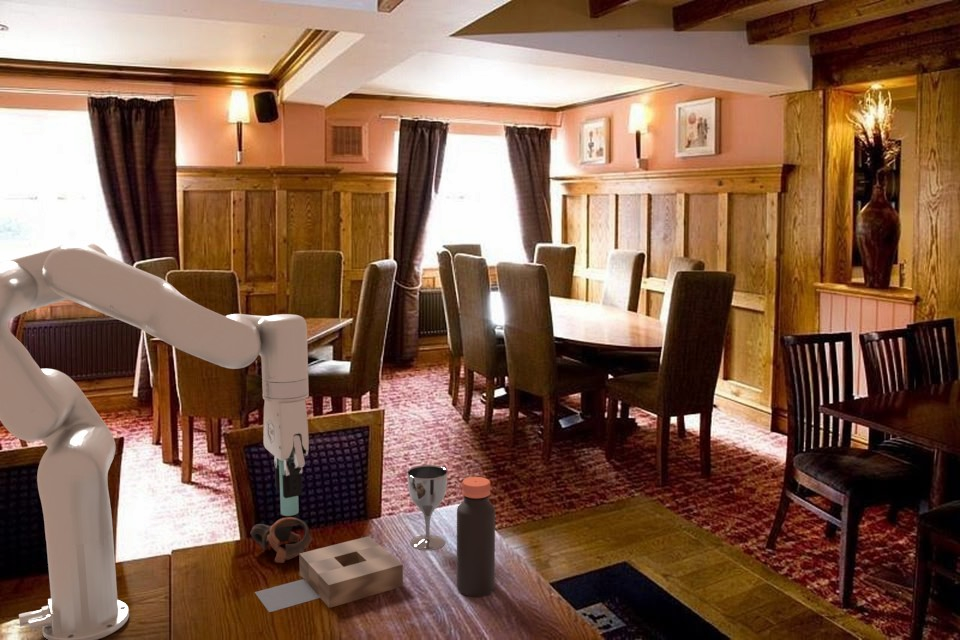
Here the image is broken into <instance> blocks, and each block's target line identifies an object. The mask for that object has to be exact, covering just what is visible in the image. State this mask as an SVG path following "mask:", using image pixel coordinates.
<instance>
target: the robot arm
mask: <svg viewBox="0 0 960 640" xmlns="http://www.w3.org/2000/svg"><path fill="white" fill-rule="evenodd" d="M65 300H66V301H67V300H69V301H71V302H73V303H76V304H78V305H81V306H83V307H86V308H89V309H90V310H91V309H92V310H94V311H96V312H98V313H101V314H102V315H103V314H104V315H106V316H109V317H112V318H113V319H116V320H119V321H121V322H123V323H126V324H129V325H131V326H133V327H136V328H137V329H140V330H141V331H143V332H144V333H146V334H148V335H150V336H152V337H155V338H156V339H158V340H160V341H163V342H164V343H166V344H168V345H170V346H172V347H174V348H175V349H177V350H180V351H181V352H184V353H187V354H189V355H191V356H194V357H196V358H199V359H201V360H204V361H207V362H209V363H212V364H213V365H217V366H219V367H222V368H226V369H232V370H235V369H237V370H238V369H243V368H246V367H248V366H250V365H251V364H252V363H254V362H255V360H256V359H257V358H258V356H260V359H261V379H262V380H261V382H262V383H261V385H262V386H261V387H262V399H263V400H264V404H263V434H262V435H263V446H264V448H265V449H266V450H267V451H268V452H269V453H270V454H271V455H272V456H274V457H273V458H274V459H273V461H274V462H273V463H274V467H275V468H274V475H275V476H274V477H275V478H274V479H275V480H274V481H275V482H274V483H275V490H276V491H278V492H280V474H279V460H281V461H284V473H285V475H282V479H283V497H284V498H290V497H295V496H298V497H299V496H302V494H303V475H302V474H303V467H304V466H305V465H306V462H305V457H306V456H308V454H309V447H310V446H309V439H310V438H309V422H308V413H307V411H308V410H307V405H306V399H307V398H308V397H309V395H310V394H309V393H310V392H309V362H308V361H309V356H308V355H309V354H308V352H309V351H308V328H307V326H308V324H307V321H306V319H305V317H303V316H301V315H298V314H289V313H286V314H285V313H282V314H272V315H253V314H244V313H233V314H232V313H231V314H227V315H223V314H220V313H218V312H215V311H213V310H211V309H209V308H206V306H205V307H204V306H203V305H201V304H199V303H197V302H195V301H193V300H191V299H189V298H188V297H186V296H185V295H184V294H182V293H181V292H179V291H178V290H177V289H176V288H175V287H174V286H173V285H172V284H171V283H169V282H168V281H167V280H165V279H163V278H162V277H159V276H157V275H155V274H153V273H149V272H148V271H145V270H143V269H140V268H137V267H135V266H133V265H130V264H128V263H125V262H123V261H121V260H119V259H117V258H115V257H112V256H110V255H108V253H106V251H105V250H104V249H102V248H101V247H100V246H99V245H97V244H95V243H92V242H90V241H84V240H83V241H82V240H76V241H71V242H68V243H64V244H61V245H59V246H57V247H54V248H50V249H47V250H43V251H40V252H37V253H33V254H29V255H26V256H22V257H17V258H14V259H10V260H6V261H3V262H0V423H1V424H2V425H3V427H4V428H5V429H6V430H7V431H8V432H9V433H10V434H11V435H12V436H14V437H15V438H17V439H19V440H21V441H25V442H37V441H42V443H44V444H45V446H46V447H47V449H46V451H45V452H44V453H43V455H42V457H41V459H40V461H39V465H38V469H37V476H36V482H37V490H38V495H39V499H40V503H41V508H42V514H43V521H44V522H43V523H44V533H45V541H46V554H47V564H48V565H47V567H48V579H49V590H50V598H48V599H47V605H44V606H41V609H38V610H37V609H36V610H33V611H28V612H27V611H26V612H22V613H19V614H18V618H19V627H20V628H22V627H24V626H28V627H29V631H32V630H35V629H36V630H37V629H40V628H42V635H43V638H44V639H45V638H46V639H48V640H99V639H103V638H106V637H107V636H109V635H111V634H114V633H115V632H116V631H118V630H120V629H121V628H122V627H123V626H124V625H125V624H126V623H127V622H128V619H129V617H130V609H129V606H128V604H126V603H125V602H123V601H121V600H119V599H118V590H117V589H118V588H117V574H116V573H117V572H116V557H115V546H114V532H113V531H114V530H113V528H114V527H113V518H112V508H111V500H110V492H109V486H108V485H109V484H108V475H109V474H108V473H109V470H110V467H111V464H112V463H113V460H114V459H115V458H114V457H115V454H116V441H115V438H114V435H113V433H112V431H111V430H110V429H109V427H108V425H107V424H106V423H105V421H104V420H103V419H102V417H101V416H100V414H99V413H98V412H97V410H96V409H95V407H94V406H93V405H92V403H91V401H90V400H89V398H87V396H86V395H85V393H84V392H83V391H82V389H81V388H80V386H79V385H78V384H77V382H75V381H74V380H73V379H72V378H71V377H70V376H69V375H67V374H66V373H64V372H62V371H60V370H58V369H53V368H40V366H39V365H38V363H37V362H36V361H35V359H34V358H33V357H32V355H31V353H30V352H29V350H28V349H27V348H26V347H25V346H24V344H23V343H22V342H21V341H20V340H18V339H17V337H16V336H15V335H14V333H12V332H11V330H10V328H9V322H10V321H11V320H12V319H14V318H17V317H18V316H19V315H21V314H24V313H25V312H28V311H32V310H36V309H38V308H42V307H46V306H49V305H52V304H56V303H60V302H63V301H65ZM291 453H293V454H294V455H292V456H290V454H291ZM292 460H294V462H292V463H290V465H289V461H292ZM46 639H45V640H46Z"/></svg>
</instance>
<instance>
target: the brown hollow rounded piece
mask: <svg viewBox="0 0 960 640" xmlns="http://www.w3.org/2000/svg"><path fill="white" fill-rule="evenodd" d="M297 525H298V526H300V527H302V529H303V530H304V536H303V537H302V539H301V540H300V541H299V539H300V536H301V535H300V534H297V533H295V532H293V531H292V528H293V527H294V526H297ZM250 535H251V538H252V539H253V540H254V541H255V543H257V544H258V545H260V547H262V550H263V551H267V549H268V547H269V548H271V549H273V550H274V551H275V552H276V555H275V558H274V562H275V563H278V564H279V563H280V564H283V563H285V562H286V561H289V560H292V559H293V558H296V557H298V556H299V553H303V552H306V551H305V550H307V549H308V548H309V546H310V544H311V542H313V538H312V536H311V534H310V529H309V526H308V524H307V523H306V522H305V521H304V520H302V519H300V518H297V517H293V516H285V517H282V518H280V519H278V520H276V521H275V522H274V523H273V524H272V525H269V524H265V523H257V524H255V525H253V526H252V528H251V530H250ZM285 542H288V543H285ZM282 543H285V545H284V547H282V546H281V544H282Z"/></svg>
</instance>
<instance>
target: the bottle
mask: <svg viewBox="0 0 960 640" xmlns="http://www.w3.org/2000/svg"><path fill="white" fill-rule="evenodd" d="M461 481H462V482H461V483H462V485H461V486H462V487H461V492H462V493H461V494H462V497H463V501H462V502H461V503H459V505H458V506H457V508H456V589H457V590H458V592H459V593H461V594H463V595H464V596H469V597H484V596H486V595H489V594H491V593H492V592H493V591H494V590H495V576H496V574H495V568H496V567H495V560H496V559H495V558H496V557H495V556H496V555H495V554H496V553H495V552H496V551H495V550H496V549H495V547H496V508H495V506H494V505H493V504H492V502H490V500H489V498H490V495H491V480H490V479H488V478H486V477H482V476H471V477H467V478H465V479H463V480H461Z"/></svg>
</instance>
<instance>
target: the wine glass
mask: <svg viewBox="0 0 960 640" xmlns="http://www.w3.org/2000/svg"><path fill="white" fill-rule="evenodd" d="M407 486H408V492H409V497H410V499H411V501H412V503H414V505H415V506H417V508H418V509H419V510H420V512H421V513H422V514H423V517H424V523H425V534H423V535H422V534H421V535H417V536H416V537H413V538H412V539H411V540H410V542H409V543H410V546H411V547H412V548H413V549H416V550H422V551H433V550H434V551H435V550H437V549H440V548H442V547H444V546H445V544H446V540H445V539H444V538H443V537H441V536H440V535H436V534H431V531H430V528H431V520H432V519H431V518H432V516H433V513H434V511H435V510H437V508H438V506H439V505H440V504H441V503H442V502H443V500H444V499H445V496H446V491H447V486H448V469H446V468H445V467H443V466H440V465H435V464H423V465H415V466H413V467H411V468H409V469H408V470H407Z"/></svg>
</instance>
